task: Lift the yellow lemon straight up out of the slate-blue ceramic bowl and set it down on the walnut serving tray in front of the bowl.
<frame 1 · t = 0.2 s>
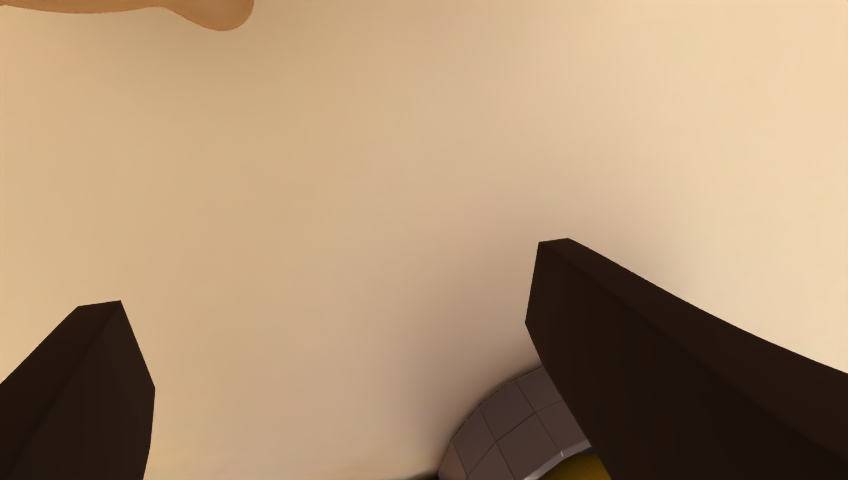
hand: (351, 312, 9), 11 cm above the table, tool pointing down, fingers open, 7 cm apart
lemon: (556, 456, 29), resting on bowl
bowl: (555, 453, 29), on the table
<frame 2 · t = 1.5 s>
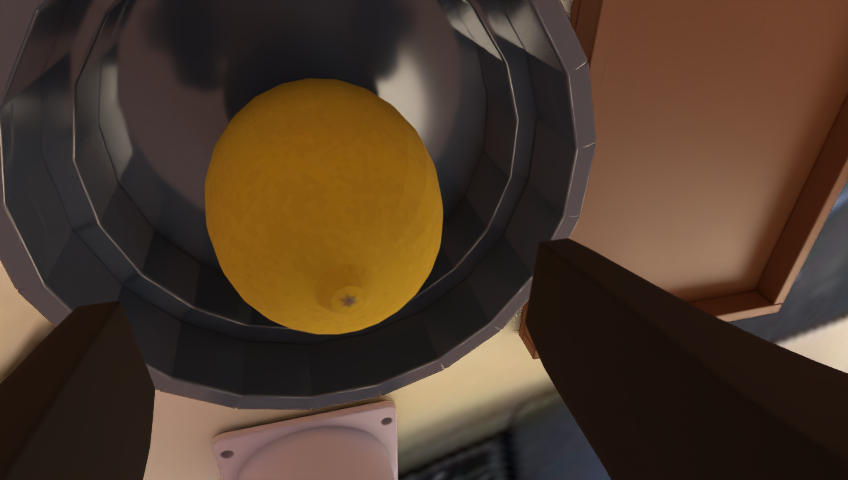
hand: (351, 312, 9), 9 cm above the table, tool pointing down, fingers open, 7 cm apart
lemon: (311, 135, 16), resting on bowl
bowl: (310, 132, 16), on the table
tray: (705, 125, 20), on the table
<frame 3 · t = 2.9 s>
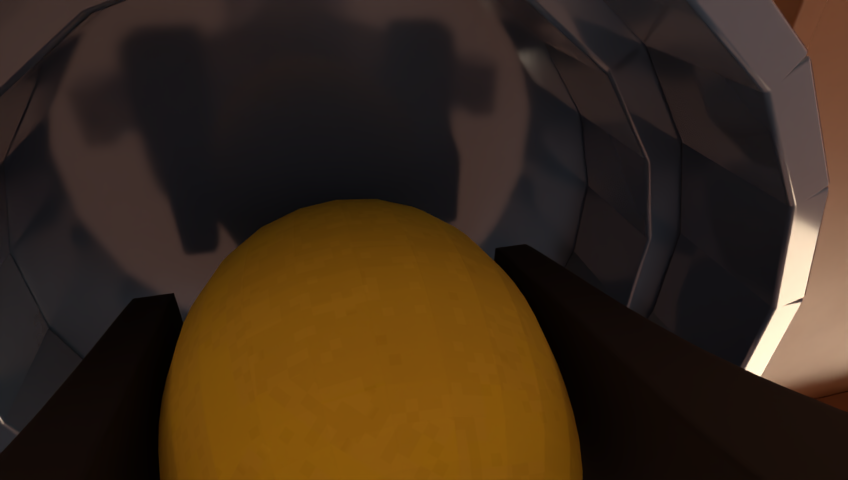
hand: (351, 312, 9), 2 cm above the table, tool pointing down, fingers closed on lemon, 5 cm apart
lemon: (334, 245, 11), resting on bowl, touching gripper
bowl: (334, 240, 11), on the table
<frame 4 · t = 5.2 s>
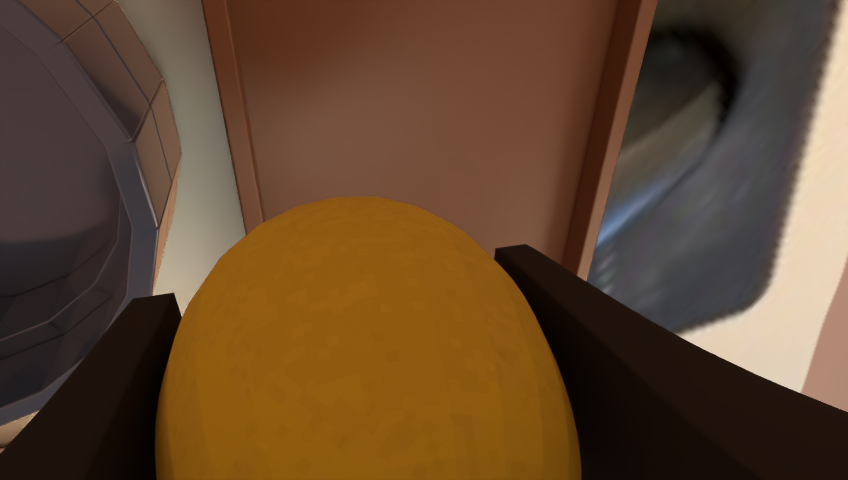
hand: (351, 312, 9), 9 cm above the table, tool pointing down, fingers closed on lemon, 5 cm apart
lemon: (332, 243, 11), point 7 cm above the table, touching gripper
tray: (433, 124, 18), on the table
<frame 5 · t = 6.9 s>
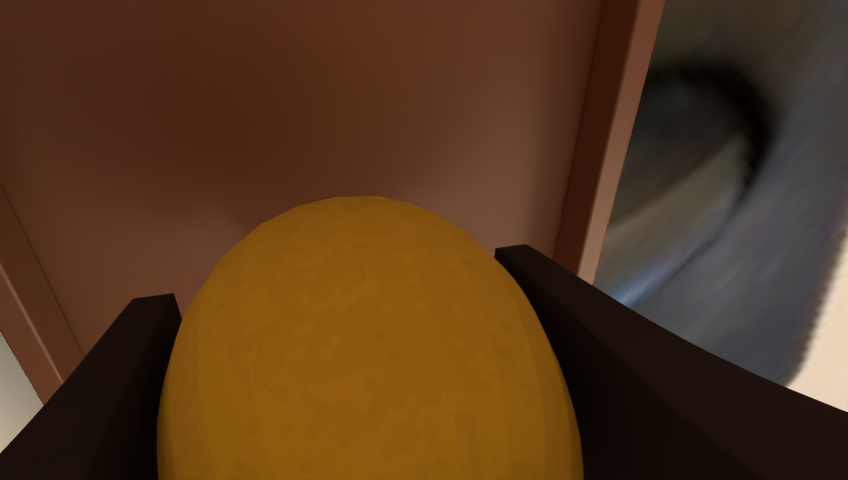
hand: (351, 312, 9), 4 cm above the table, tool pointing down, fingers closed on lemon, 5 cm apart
lemon: (333, 243, 11), point 2 cm above the table, touching gripper
tray: (328, 209, 12), on the table
when the fingers open (2 cm above the table, at t = 7.9 s): lemon stays where it is, resting on tray.
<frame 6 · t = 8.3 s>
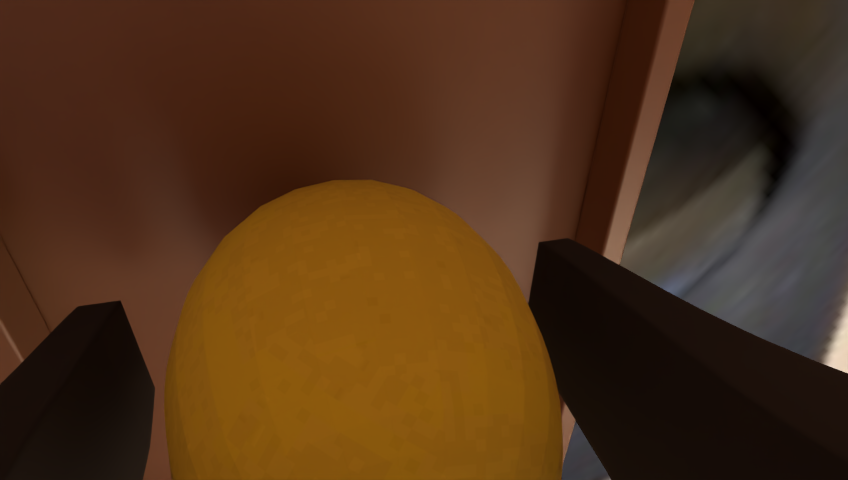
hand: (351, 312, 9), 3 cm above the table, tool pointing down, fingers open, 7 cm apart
lemon: (331, 229, 12), resting on tray
tray: (332, 226, 12), on the table
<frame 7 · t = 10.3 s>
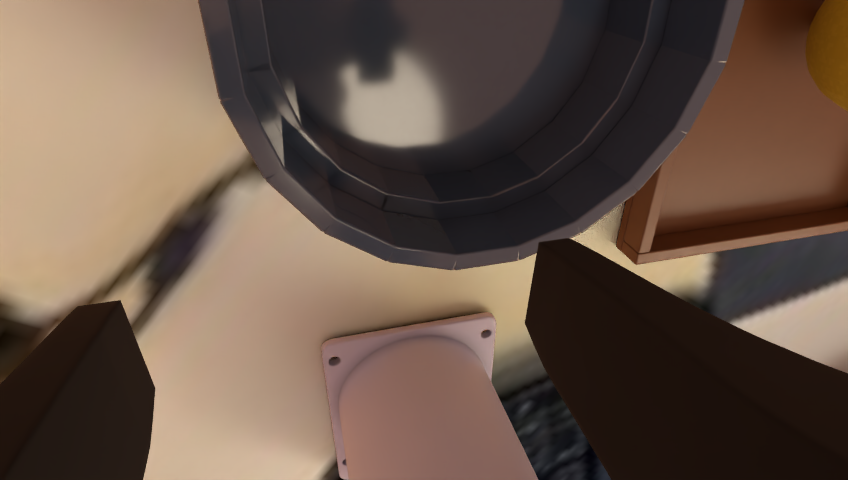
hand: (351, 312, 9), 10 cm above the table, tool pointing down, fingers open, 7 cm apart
lemon: (814, 18, 20), resting on tray
bowl: (446, 6, 17), on the table
tray: (810, 19, 21), on the table
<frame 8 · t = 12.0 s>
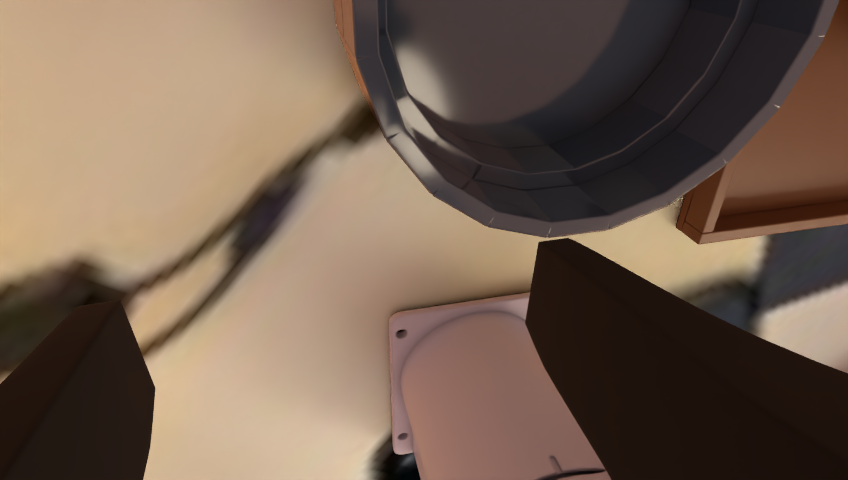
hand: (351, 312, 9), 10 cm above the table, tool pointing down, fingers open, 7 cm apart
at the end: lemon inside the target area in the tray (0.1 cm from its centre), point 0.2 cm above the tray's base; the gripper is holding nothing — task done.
